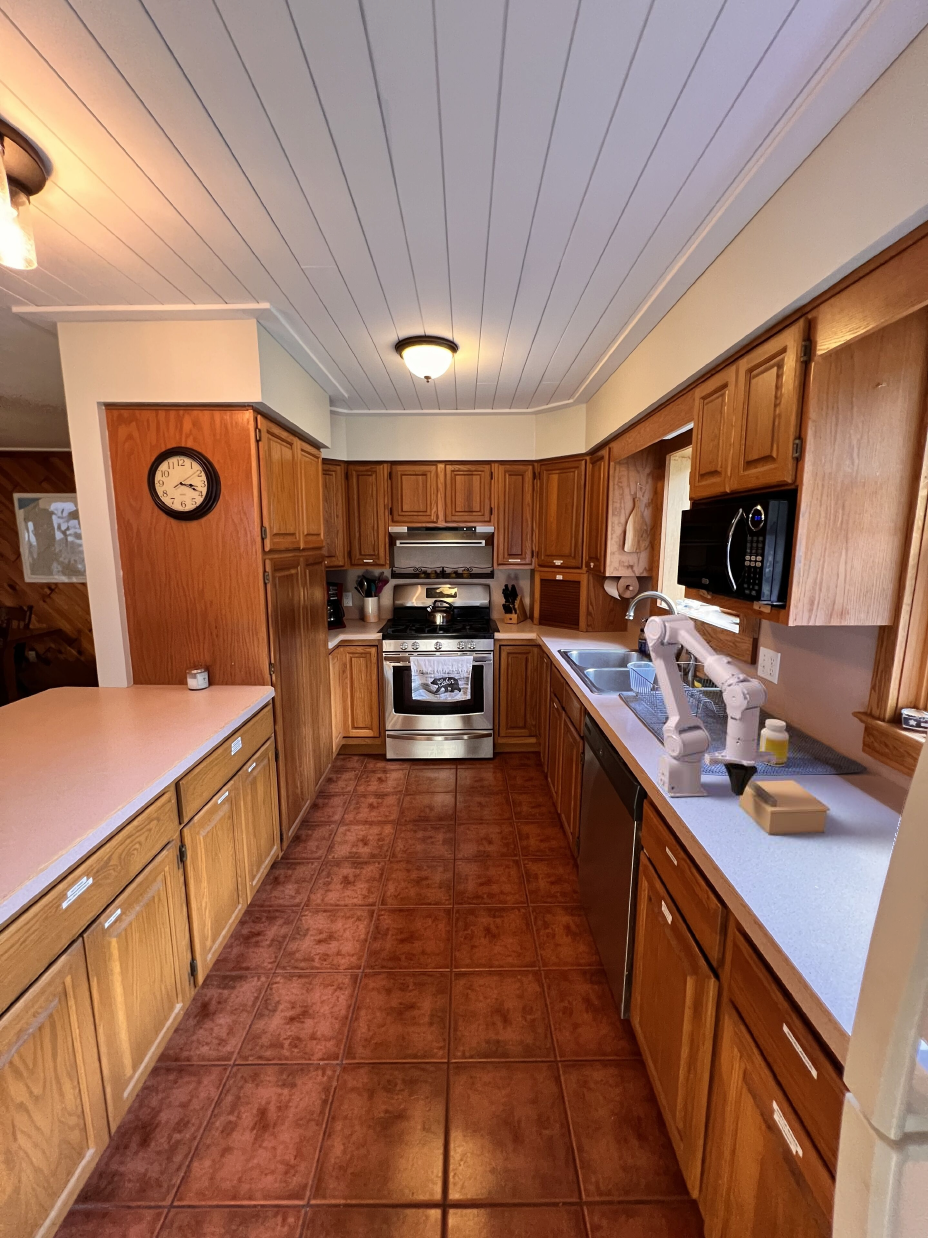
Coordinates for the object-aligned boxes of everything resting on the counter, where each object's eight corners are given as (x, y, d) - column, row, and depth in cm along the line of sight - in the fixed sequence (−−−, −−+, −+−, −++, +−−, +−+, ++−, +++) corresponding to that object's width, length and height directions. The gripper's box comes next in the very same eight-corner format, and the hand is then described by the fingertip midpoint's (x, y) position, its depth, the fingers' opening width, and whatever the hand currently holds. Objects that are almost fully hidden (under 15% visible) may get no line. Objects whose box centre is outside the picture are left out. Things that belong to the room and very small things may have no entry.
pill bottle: (790, 768, 132) (794, 727, 130) (763, 766, 134) (767, 726, 131) (780, 757, 139) (784, 718, 136) (755, 756, 140) (758, 717, 138)
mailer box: (768, 835, 105) (770, 813, 104) (739, 806, 116) (740, 786, 115) (824, 832, 105) (826, 811, 104) (789, 804, 116) (791, 784, 115)
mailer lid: (770, 813, 103) (771, 804, 103) (738, 784, 115) (739, 776, 114) (829, 810, 104) (830, 801, 103) (792, 782, 115) (793, 774, 115)
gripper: (718, 744, 102) (713, 804, 105) (787, 742, 103) (781, 802, 105) (701, 730, 109) (697, 787, 112) (766, 728, 109) (761, 785, 112)
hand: (737, 793), depth 109 cm, fingers closed
